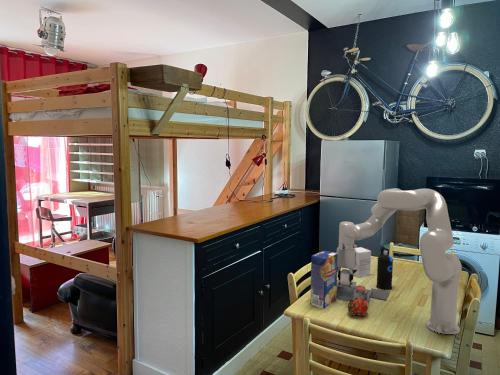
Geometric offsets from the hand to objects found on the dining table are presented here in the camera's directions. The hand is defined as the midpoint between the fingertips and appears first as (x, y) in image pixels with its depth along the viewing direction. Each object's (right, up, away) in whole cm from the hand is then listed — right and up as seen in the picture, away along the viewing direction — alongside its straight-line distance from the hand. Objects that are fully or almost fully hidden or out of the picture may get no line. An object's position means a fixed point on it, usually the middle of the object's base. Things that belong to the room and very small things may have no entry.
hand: (345, 280), depth 192 cm
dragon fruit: (0, -10, -23) cm, 25 cm away
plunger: (+5, -5, -9) cm, 12 cm away
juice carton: (-13, -8, -11) cm, 19 cm away
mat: (+17, -7, -2) cm, 18 cm away
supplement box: (+16, -4, +29) cm, 33 cm away
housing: (+2, -7, -3) cm, 8 cm away
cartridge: (0, -5, +1) cm, 5 cm away
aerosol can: (+23, -6, +9) cm, 25 cm away
